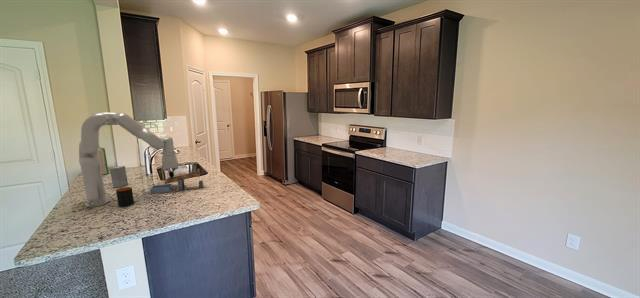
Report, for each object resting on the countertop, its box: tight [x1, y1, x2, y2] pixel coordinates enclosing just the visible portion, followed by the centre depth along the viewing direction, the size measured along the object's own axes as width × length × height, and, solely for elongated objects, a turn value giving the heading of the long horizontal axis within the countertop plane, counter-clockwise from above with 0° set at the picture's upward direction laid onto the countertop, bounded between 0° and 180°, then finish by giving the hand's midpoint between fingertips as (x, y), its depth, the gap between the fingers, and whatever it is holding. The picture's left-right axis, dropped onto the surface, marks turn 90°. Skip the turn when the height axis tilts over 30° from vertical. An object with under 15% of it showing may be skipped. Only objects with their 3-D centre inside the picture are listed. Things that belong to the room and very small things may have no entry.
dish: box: [149, 183, 173, 195], centre depth 198 cm, size 9×13×4 cm
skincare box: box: [109, 165, 129, 189], centre depth 210 cm, size 8×7×16 cm
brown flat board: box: [163, 168, 201, 184], centre depth 206 cm, size 24×17×4 cm
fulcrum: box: [175, 180, 189, 193], centre depth 202 cm, size 6×12×8 cm, turn 17°
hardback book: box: [98, 146, 110, 176], centre depth 248 cm, size 18×7×24 cm, turn 55°
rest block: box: [198, 180, 204, 189], centre depth 206 cm, size 5×2×4 cm, turn 17°
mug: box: [115, 186, 135, 208], centre depth 172 cm, size 8×12×10 cm
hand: (171, 176), depth 207 cm, fingers closed
